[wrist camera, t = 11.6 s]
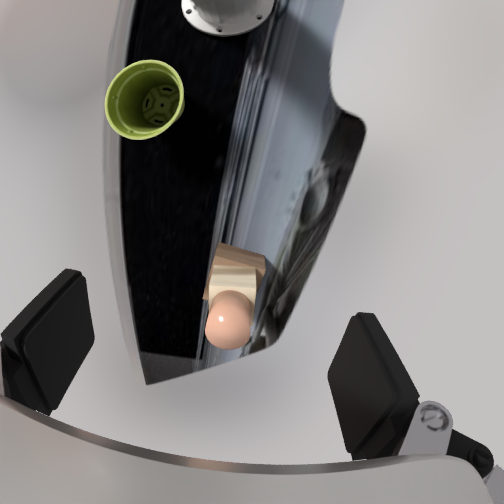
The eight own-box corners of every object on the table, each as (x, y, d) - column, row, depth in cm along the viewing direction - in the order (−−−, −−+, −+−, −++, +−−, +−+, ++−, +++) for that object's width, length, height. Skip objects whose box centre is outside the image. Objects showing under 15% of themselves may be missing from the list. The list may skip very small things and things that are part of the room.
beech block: (213, 264, 39) (208, 285, 34) (255, 267, 39) (256, 288, 34) (213, 299, 41) (209, 322, 36) (252, 302, 41) (252, 325, 36)
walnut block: (218, 241, 43) (215, 255, 38) (264, 255, 44) (265, 270, 39) (207, 281, 46) (202, 298, 41) (249, 293, 47) (249, 311, 42)
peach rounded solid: (215, 285, 34) (209, 310, 29) (255, 295, 34) (255, 320, 30) (208, 317, 36) (202, 344, 31) (245, 326, 36) (244, 353, 32)
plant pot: (140, 70, 33) (114, 58, 25) (204, 77, 34) (192, 63, 26) (126, 133, 36) (98, 135, 28) (188, 142, 37) (173, 145, 29)
